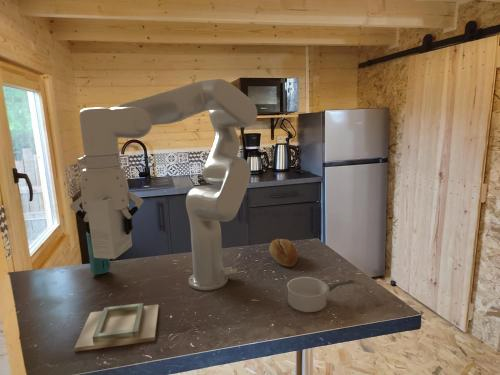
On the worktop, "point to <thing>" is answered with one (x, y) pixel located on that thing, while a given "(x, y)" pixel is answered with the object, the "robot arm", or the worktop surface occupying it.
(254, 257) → the worktop surface
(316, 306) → the saucepan
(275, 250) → the bread roll
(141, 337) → the nest board
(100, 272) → the beverage bottle
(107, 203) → the skincare box
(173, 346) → the worktop surface
